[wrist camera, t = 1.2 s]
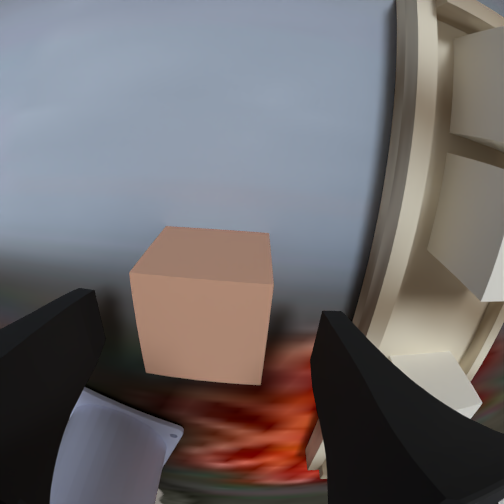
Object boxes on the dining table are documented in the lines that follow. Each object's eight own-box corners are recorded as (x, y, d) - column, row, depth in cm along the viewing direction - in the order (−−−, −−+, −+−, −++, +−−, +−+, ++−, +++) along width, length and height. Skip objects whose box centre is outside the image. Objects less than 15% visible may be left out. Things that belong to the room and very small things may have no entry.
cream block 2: (489, 256, 11) (541, 299, 7) (426, 249, 11) (480, 301, 7) (509, 173, 9) (572, 199, 6) (447, 152, 9) (517, 173, 6)
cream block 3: (422, 399, 15) (444, 449, 11) (365, 406, 15) (381, 463, 11) (450, 350, 13) (482, 402, 10) (389, 355, 13) (416, 418, 10)
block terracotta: (260, 317, 13) (260, 385, 10) (171, 310, 13) (146, 372, 10) (269, 232, 12) (273, 284, 8) (166, 225, 12) (129, 272, 8)
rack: (408, 438, 18) (416, 463, 16) (305, 449, 18) (308, 479, 16) (531, 66, 8) (565, 66, 5) (396, -3, 8) (425, -25, 5)
